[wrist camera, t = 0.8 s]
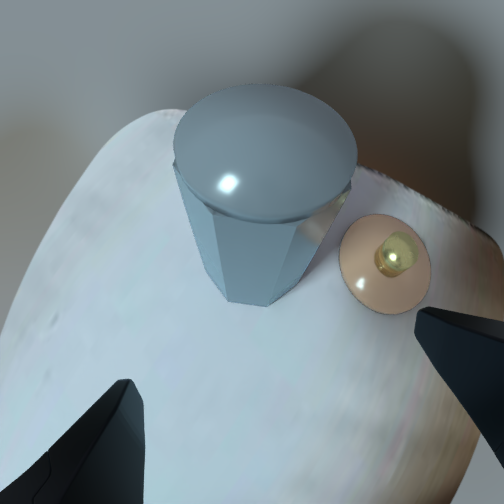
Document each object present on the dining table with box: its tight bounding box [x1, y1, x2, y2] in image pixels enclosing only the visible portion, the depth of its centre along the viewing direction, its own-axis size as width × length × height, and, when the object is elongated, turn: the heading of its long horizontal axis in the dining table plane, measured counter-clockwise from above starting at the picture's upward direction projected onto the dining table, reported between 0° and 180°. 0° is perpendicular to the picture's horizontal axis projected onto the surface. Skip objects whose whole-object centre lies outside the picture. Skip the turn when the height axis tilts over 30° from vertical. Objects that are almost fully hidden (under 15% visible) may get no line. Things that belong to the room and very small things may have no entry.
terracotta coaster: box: [339, 214, 431, 315], centre depth 23 cm, size 9×9×1 cm
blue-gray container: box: [173, 84, 357, 307], centre depth 17 cm, size 7×7×13 cm
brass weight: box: [374, 231, 419, 278], centre depth 21 cm, size 3×3×2 cm
